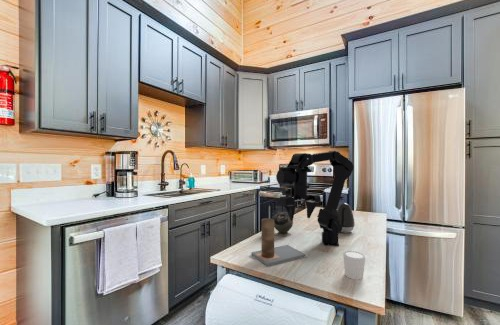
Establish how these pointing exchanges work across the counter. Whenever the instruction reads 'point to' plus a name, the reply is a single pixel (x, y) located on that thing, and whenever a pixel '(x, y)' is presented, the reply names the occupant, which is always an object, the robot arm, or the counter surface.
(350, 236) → the counter surface
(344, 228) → the dark grey tapered dome
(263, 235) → the walnut roller
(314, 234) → the counter surface
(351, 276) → the white cup
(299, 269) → the counter surface
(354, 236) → the counter surface
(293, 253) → the slate board
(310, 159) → the robot arm
